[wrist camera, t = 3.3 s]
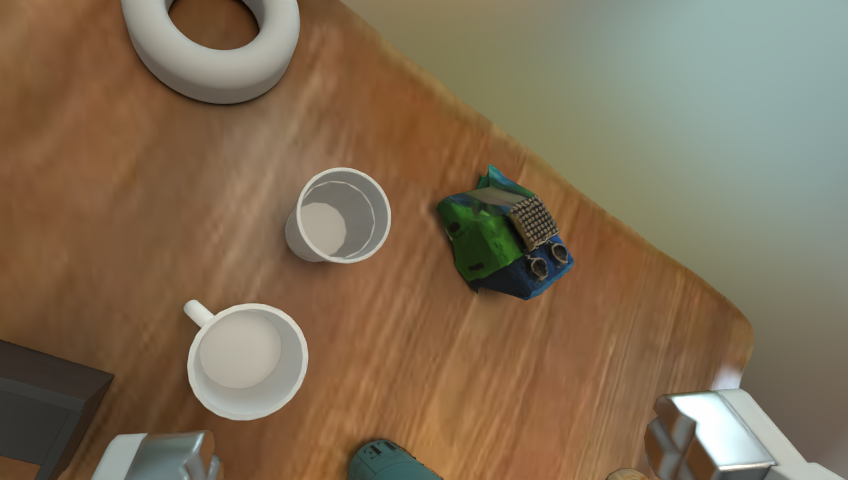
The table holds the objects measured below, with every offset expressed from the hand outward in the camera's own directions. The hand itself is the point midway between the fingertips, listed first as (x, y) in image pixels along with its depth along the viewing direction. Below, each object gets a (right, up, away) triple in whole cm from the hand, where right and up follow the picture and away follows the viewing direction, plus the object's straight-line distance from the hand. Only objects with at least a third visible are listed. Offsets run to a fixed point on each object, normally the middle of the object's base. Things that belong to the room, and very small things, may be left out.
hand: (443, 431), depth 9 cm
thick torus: (-21, +24, +42) cm, 52 cm away
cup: (-12, +4, +44) cm, 45 cm away
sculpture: (+6, +4, +52) cm, 52 cm away
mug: (-19, -6, +39) cm, 44 cm away
